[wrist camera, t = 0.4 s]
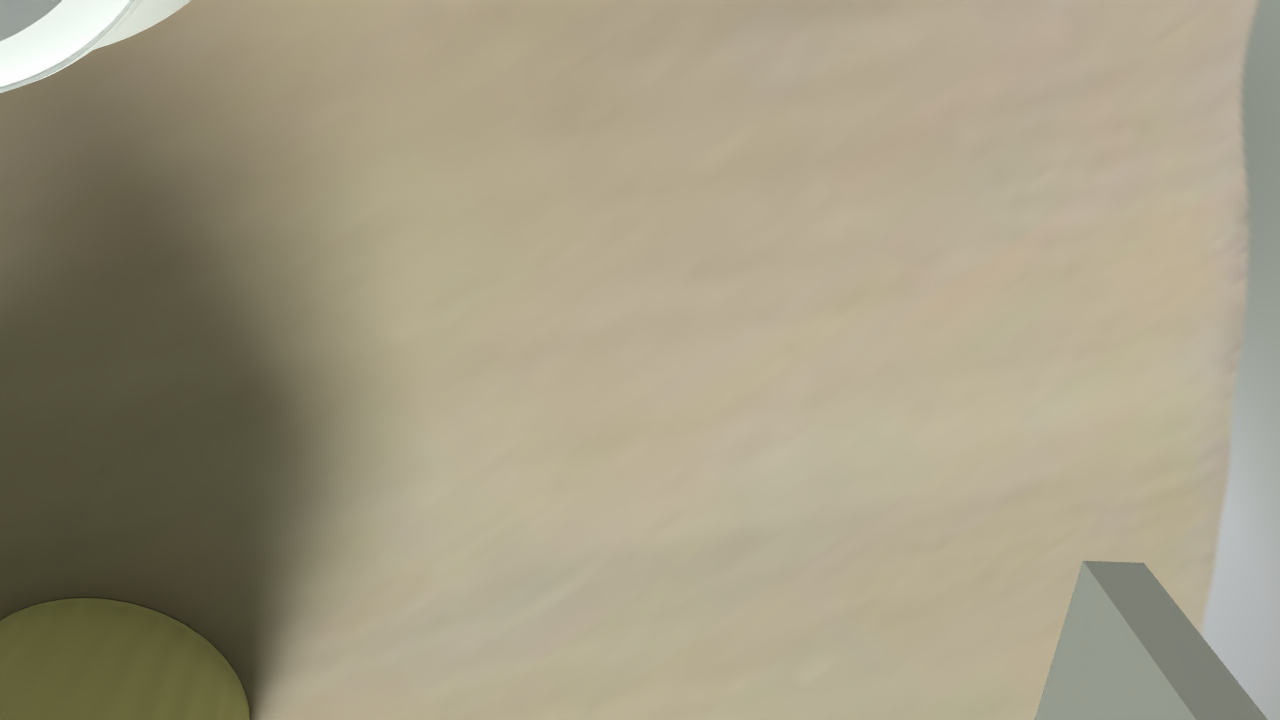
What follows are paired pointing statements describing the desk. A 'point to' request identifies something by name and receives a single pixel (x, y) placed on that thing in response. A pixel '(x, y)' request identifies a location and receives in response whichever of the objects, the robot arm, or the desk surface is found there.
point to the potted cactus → (111, 666)
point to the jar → (67, 32)
